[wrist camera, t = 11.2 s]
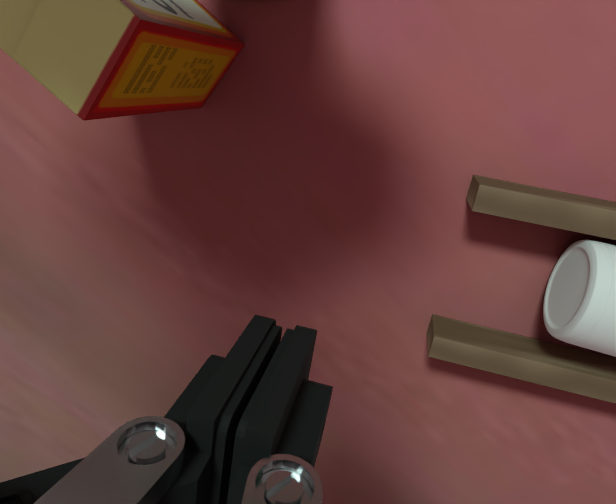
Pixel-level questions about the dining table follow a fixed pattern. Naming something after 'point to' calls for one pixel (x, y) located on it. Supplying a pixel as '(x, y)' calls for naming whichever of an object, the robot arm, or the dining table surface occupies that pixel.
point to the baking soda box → (119, 52)
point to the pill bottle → (583, 297)
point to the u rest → (515, 348)
